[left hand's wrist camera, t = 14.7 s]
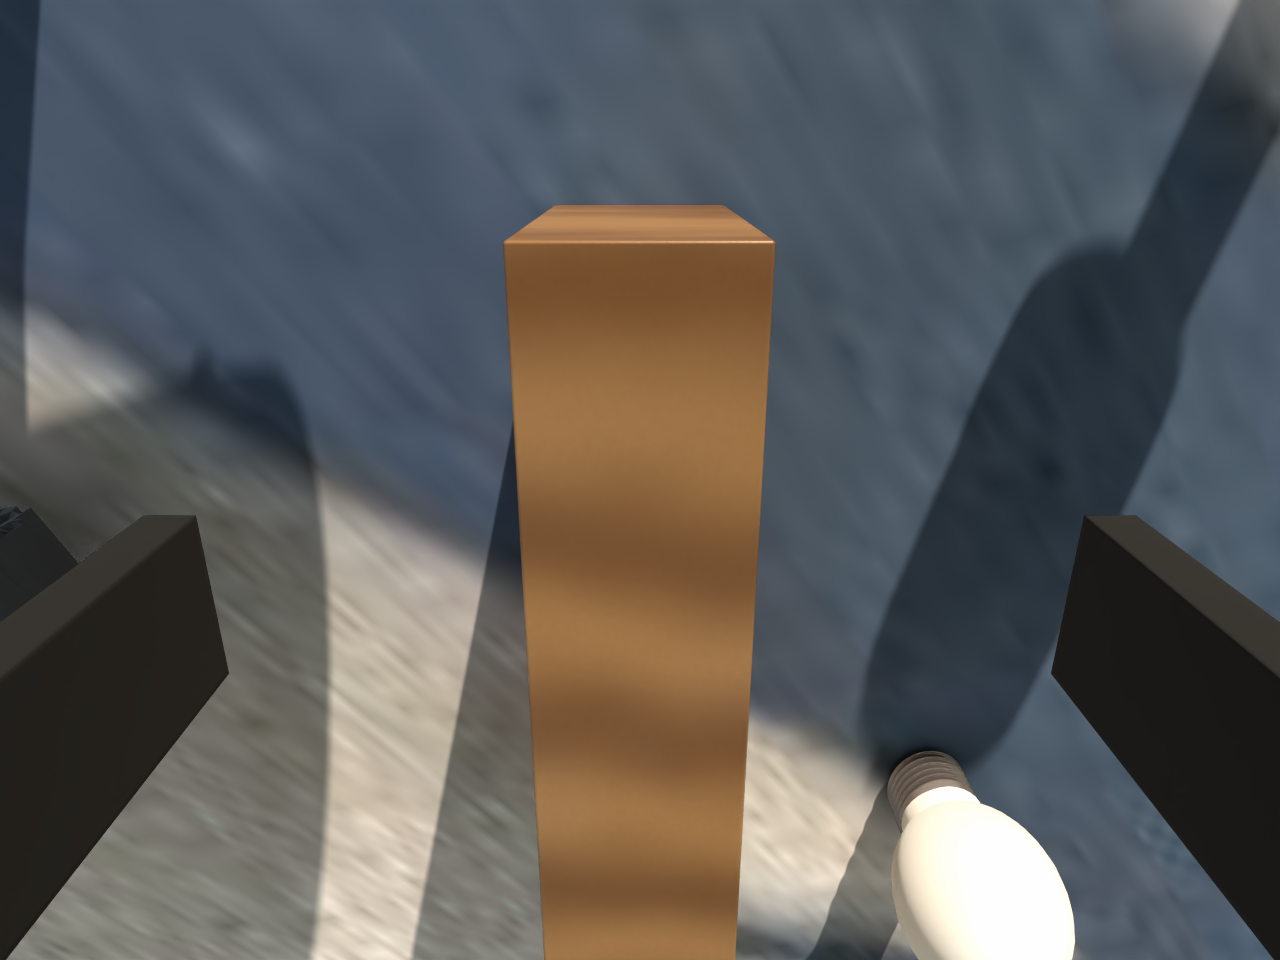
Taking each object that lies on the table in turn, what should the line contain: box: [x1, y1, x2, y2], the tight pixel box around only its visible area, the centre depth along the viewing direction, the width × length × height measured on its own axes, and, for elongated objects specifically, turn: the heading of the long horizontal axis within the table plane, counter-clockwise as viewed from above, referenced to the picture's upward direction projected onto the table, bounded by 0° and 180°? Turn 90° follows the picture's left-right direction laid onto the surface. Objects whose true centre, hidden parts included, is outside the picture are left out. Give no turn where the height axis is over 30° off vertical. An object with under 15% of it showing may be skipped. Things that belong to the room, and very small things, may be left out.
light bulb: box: [887, 751, 1075, 960], centre depth 36 cm, size 7×7×11 cm
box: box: [503, 205, 776, 960], centre depth 31 cm, size 28×6×13 cm, turn 0°
